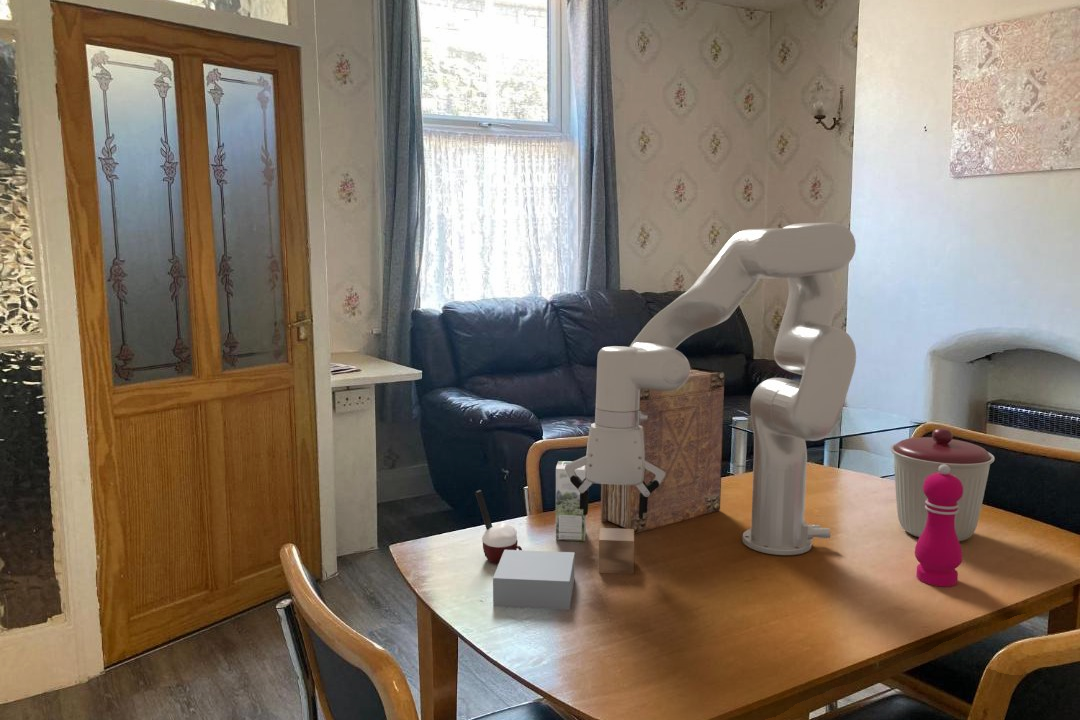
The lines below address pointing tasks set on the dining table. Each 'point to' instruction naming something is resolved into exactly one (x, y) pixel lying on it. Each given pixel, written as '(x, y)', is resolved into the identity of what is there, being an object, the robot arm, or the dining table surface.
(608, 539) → the walnut cube
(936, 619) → the dining table surface
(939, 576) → the pepper mill
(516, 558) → the grey block
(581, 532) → the syrup box
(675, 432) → the book
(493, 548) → the cocoa
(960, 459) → the canister
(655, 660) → the dining table surface
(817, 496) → the dining table surface
